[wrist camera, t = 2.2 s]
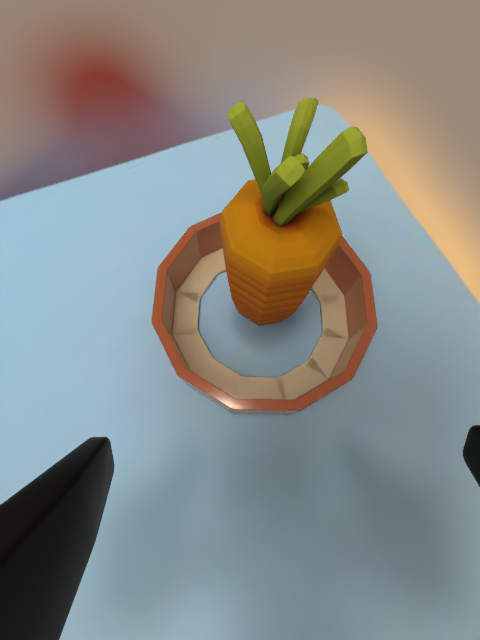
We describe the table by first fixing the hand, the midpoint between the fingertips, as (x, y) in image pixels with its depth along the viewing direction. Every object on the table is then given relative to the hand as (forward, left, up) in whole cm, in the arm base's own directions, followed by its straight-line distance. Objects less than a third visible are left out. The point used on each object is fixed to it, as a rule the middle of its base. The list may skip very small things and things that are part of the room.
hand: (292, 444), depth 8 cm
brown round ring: (+7, -4, -12) cm, 15 cm away
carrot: (+7, -4, -13) cm, 15 cm away
